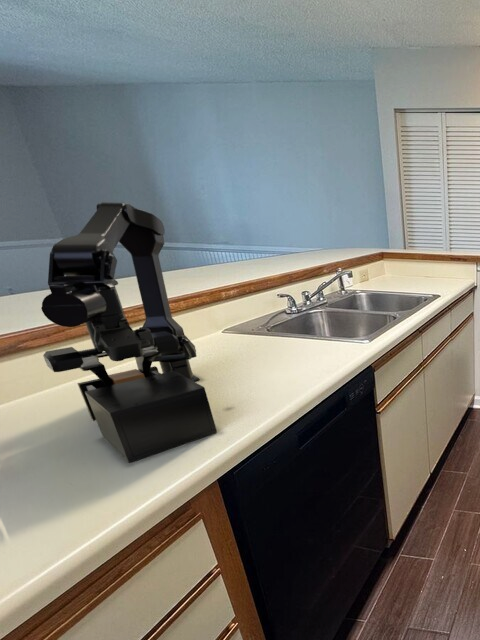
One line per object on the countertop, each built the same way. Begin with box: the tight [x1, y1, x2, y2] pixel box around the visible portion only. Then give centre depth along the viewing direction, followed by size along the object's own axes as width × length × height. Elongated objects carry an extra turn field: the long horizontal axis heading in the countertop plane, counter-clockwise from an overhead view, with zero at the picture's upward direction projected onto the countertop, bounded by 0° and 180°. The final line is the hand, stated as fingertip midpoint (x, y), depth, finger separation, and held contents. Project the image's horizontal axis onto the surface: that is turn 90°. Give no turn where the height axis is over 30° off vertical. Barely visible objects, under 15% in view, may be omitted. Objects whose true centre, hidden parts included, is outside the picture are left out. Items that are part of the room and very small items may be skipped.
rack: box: [77, 365, 162, 422], centre depth 85 cm, size 15×12×8 cm
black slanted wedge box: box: [85, 371, 218, 464], centre depth 79 cm, size 15×14×10 cm
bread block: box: [108, 368, 145, 385], centre depth 84 cm, size 4×4×4 cm
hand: (131, 390), depth 84 cm, fingers closed on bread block, 4 cm apart
